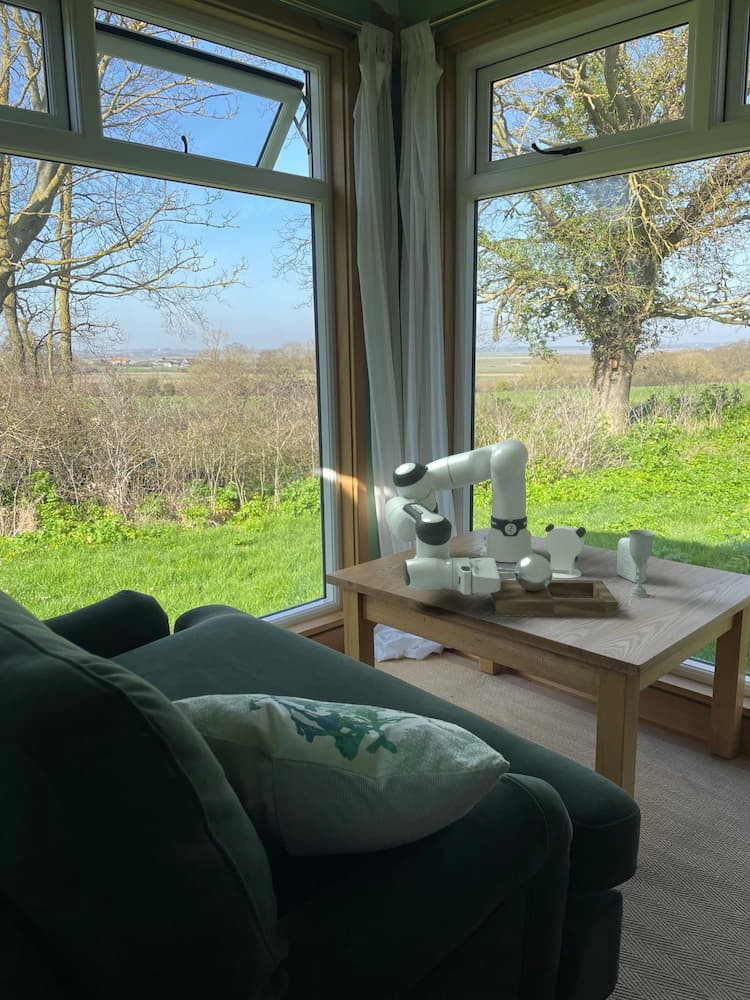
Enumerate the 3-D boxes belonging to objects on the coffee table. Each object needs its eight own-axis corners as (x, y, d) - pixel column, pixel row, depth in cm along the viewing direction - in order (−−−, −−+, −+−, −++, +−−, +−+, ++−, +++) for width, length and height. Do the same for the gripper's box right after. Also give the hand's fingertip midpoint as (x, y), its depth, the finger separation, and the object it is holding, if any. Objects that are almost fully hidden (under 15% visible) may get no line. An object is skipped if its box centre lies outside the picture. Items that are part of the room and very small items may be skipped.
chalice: (619, 592, 203) (622, 531, 199) (638, 589, 205) (642, 528, 201) (637, 600, 196) (640, 536, 192) (657, 597, 198) (660, 534, 195)
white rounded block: (648, 582, 211) (650, 542, 208) (635, 584, 209) (637, 543, 207) (626, 573, 220) (628, 534, 218) (614, 574, 219) (615, 535, 217)
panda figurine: (586, 570, 223) (588, 524, 220) (579, 581, 214) (581, 532, 211) (548, 566, 229) (549, 520, 226) (539, 576, 219) (540, 528, 216)
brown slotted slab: (490, 593, 205) (490, 579, 204) (600, 593, 202) (601, 580, 201) (495, 615, 187) (496, 601, 186) (617, 616, 185) (617, 601, 184)
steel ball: (505, 567, 198) (531, 542, 196) (531, 590, 199) (557, 565, 197) (508, 580, 189) (535, 554, 186) (535, 604, 190) (563, 578, 187)
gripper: (461, 573, 204) (510, 573, 203) (464, 597, 184) (518, 597, 183) (461, 552, 203) (511, 552, 202) (464, 573, 183) (519, 574, 182)
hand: (514, 574), depth 192 cm, fingers closed
